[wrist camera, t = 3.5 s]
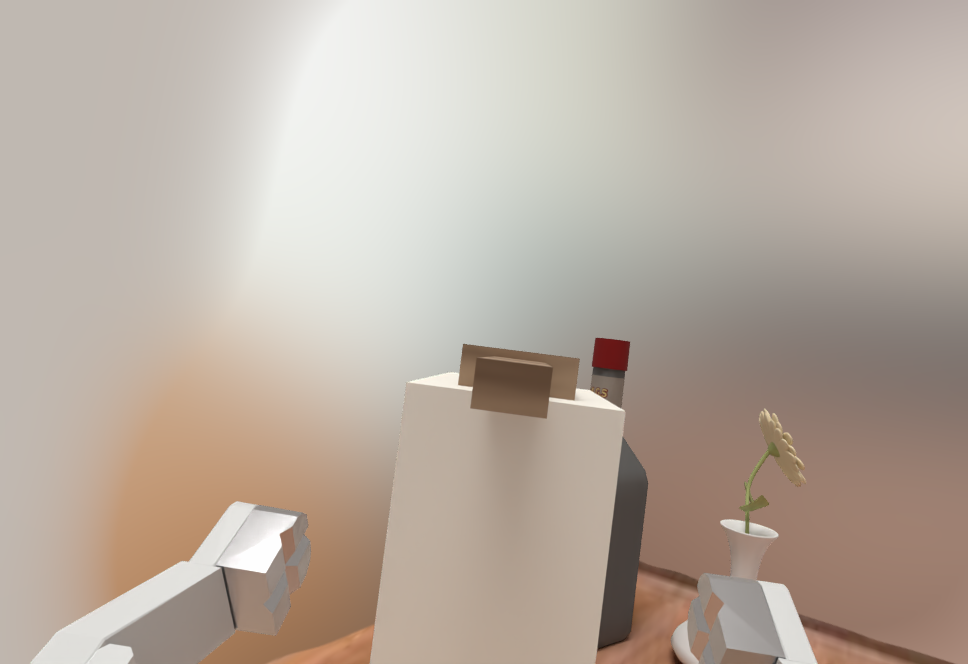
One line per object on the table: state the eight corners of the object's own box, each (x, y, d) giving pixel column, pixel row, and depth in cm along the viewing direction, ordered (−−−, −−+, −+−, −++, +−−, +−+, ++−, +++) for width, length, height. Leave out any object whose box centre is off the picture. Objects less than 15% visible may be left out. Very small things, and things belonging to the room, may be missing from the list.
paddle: (598, 425, 22) (606, 361, 22) (420, 401, 23) (428, 338, 23) (565, 391, 42) (570, 357, 42) (471, 379, 43) (475, 345, 43)
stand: (568, 886, 30) (625, 411, 31) (346, 841, 31) (406, 382, 32) (554, 688, 48) (590, 390, 49) (413, 663, 49) (450, 372, 50)
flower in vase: (794, 734, 46) (829, 422, 47) (653, 674, 52) (685, 400, 53) (808, 669, 57) (835, 417, 57) (689, 626, 63) (715, 399, 64)
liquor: (581, 657, 54) (619, 338, 55) (516, 614, 61) (551, 332, 62) (641, 636, 59) (675, 347, 60) (575, 599, 66) (606, 341, 67)
